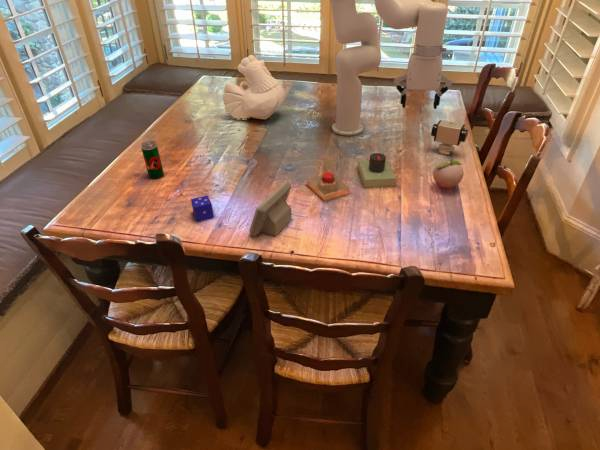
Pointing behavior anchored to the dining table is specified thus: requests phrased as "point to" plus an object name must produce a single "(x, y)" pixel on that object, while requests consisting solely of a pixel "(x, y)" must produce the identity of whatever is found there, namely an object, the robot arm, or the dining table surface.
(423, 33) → the robot arm
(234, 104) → the decorative rooster
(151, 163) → the soda can
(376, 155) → the dial knob
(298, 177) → the dining table surface
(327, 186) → the button box
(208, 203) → the die
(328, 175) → the button
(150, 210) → the dining table surface
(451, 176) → the decorative fruit
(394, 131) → the dining table surface
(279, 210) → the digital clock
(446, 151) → the pneumatic valve
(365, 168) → the dial panel
